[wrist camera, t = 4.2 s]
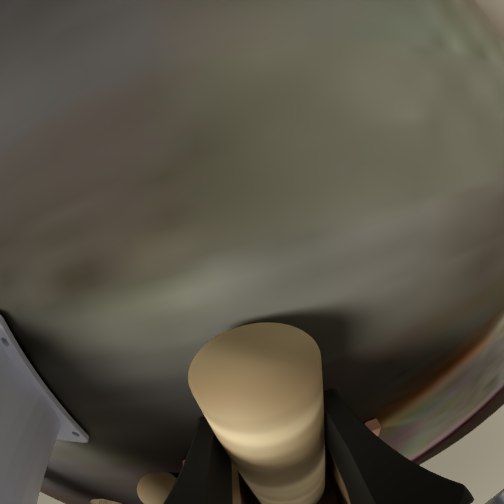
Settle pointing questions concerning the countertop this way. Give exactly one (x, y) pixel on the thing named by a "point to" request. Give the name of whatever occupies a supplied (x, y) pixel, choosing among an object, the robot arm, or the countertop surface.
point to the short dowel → (155, 487)
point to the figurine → (103, 501)
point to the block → (332, 500)
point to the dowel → (266, 408)
